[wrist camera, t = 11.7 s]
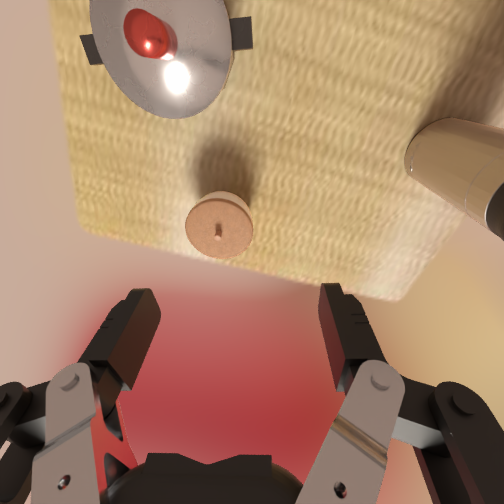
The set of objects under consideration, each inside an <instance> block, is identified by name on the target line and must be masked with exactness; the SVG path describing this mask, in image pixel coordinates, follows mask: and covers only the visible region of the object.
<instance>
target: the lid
mask: <svg viewBox="0 0 504 504" xmlns="http://www.w3.org/2000/svg"><path fill="white" fill-rule="evenodd" d="M90 20H91V26H92V32H93V36H94V40H95V43H96V47H97V49H98V52H99V54H100V57H101V59H102V61H103V63H104V65H105V67H106V69H107V71H108V73H109V74H110V76H111V78H112V79H113V80H114V82H115V83H116V84H117V86H118V87H119V88H120V89H121V90H122V92H123V93H124V94H125V95H126V96H127V97H128V98H129V99H130V100H131V101H133V102H134V103H135V104H137V105H138V106H139V107H141V108H142V109H144V110H146V111H147V112H150V113H152V114H154V115H157V116H160V117H163V118H169V119H181V118H187V117H191V116H194V115H196V114H198V113H200V112H201V111H203V110H204V109H206V108H207V107H208V106H209V105H210V104H212V103H213V102H214V100H215V99H216V98H217V97H218V95H219V94H220V92H221V90H222V88H223V86H224V84H225V82H226V79H227V76H228V73H229V69H230V64H231V56H232V35H231V27H230V22H229V17H228V13H227V10H226V7H225V4H224V1H223V0H90Z"/></svg>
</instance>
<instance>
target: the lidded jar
mask: <svg viewBox="0 0 504 504" xmlns="http://www.w3.org/2000/svg"><path fill="white" fill-rule="evenodd" d="M185 229H186V234H187V237H188V239H189V241H190V242H191V244H192V245H193V246H194V247H195V248H196V249H197V250H198V251H200V252H201V253H203V254H205V255H207V256H210V257H213V258H219V259H226V258H232V257H235V256H237V255H239V254H241V253H242V252H244V251H245V250H246V249H247V248H248V246H249V245H250V243H251V241H252V237H253V222H252V216H251V212H250V210H249V208H248V206H247V205H246V203H245V202H244V201H243V200H242V199H241V198H240V197H238V196H237V195H235V194H233V193H230V192H226V191H216V192H212V193H209V194H207V195H205V196H204V197H202V198H201V199H200V200H199V201H198V202H197V203H196V204H195V206H194V207H193V208H192V210H191V211H190V212H189V214H188V216H187V219H186V223H185Z"/></svg>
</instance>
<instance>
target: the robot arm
mask: <svg viewBox="0 0 504 504" xmlns="http://www.w3.org/2000/svg"><path fill="white" fill-rule="evenodd" d="M405 168H406V171H407V173H408V174H409V175H410V176H411V177H412V178H413V179H415V180H416V181H418V182H419V183H421V184H422V185H424V186H425V187H426V188H428V189H429V190H431V191H432V192H434V193H435V194H437V195H438V196H440V197H441V198H443V199H444V200H446V201H447V202H448V203H450V204H451V205H453V206H454V207H456V208H457V209H459V210H460V211H462V212H463V213H465V214H466V215H468V216H469V217H471V218H472V219H474V220H475V221H477V222H478V223H480V224H481V225H483V226H484V227H485V228H487V229H488V230H490V231H492V232H493V233H494V234H496V235H497V236H499V237H500V238H501V239H502V240H503V241H504V129H503V128H498V127H494V126H489V125H485V124H480V123H476V122H472V121H467V120H463V119H458V118H445V119H441V120H438V121H436V122H433V123H431V124H430V125H428V126H427V127H425V128H424V129H423V130H422V131H420V132H419V133H418V134H417V135H416V137H415V138H414V139H413V140H412V142H411V144H410V145H409V147H408V149H407V152H406V155H405ZM318 313H319V320H320V324H321V328H322V332H323V337H324V340H325V345H326V349H327V354H328V358H329V362H330V366H331V371H332V375H333V379H334V384H335V388H336V391H338V392H339V391H340V392H341V391H344V392H345V395H346V398H345V400H344V402H343V405H342V406H341V409H340V411H339V413H338V415H337V417H336V419H335V420H334V422H333V424H332V426H331V428H330V430H329V432H328V434H327V436H326V439H325V440H324V443H323V445H322V447H321V449H320V451H319V454H318V455H317V458H316V460H315V462H314V464H313V466H312V468H311V470H310V473H309V475H308V477H307V479H306V481H305V483H304V485H303V484H302V483H301V482H300V481H299V480H298V479H297V478H296V477H295V476H294V475H293V474H292V473H290V472H289V471H288V470H286V469H284V468H283V467H281V466H279V465H277V464H274V463H272V457H271V455H237V456H234V457H231V458H228V459H225V460H222V461H219V462H216V463H212V464H207V465H206V464H203V463H200V462H198V461H195V460H193V459H190V458H188V457H185V456H183V455H180V454H177V453H148V455H147V458H146V462H145V463H143V464H141V465H138V463H137V460H136V458H135V455H134V453H133V451H132V450H131V448H130V445H129V442H128V438H127V434H126V430H125V425H124V421H123V417H122V413H121V408H120V404H119V400H118V399H117V398H118V395H119V393H120V391H127V390H128V391H131V390H132V387H133V385H134V383H135V380H136V378H137V375H138V373H139V371H140V368H141V366H142V363H143V361H144V359H145V356H146V354H147V351H148V349H149V347H150V344H151V342H152V339H153V337H154V334H155V332H156V330H157V327H158V325H159V322H160V318H161V311H160V308H159V306H158V303H157V301H156V299H155V297H154V295H153V292H152V290H151V289H149V288H144V289H132V290H131V291H130V292H129V294H128V296H127V297H126V299H125V300H121V301H120V302H119V303H118V304H117V305H116V306H114V307H113V308H112V309H111V311H110V312H109V314H108V315H107V317H106V320H105V321H104V322H103V323H102V325H101V326H100V329H99V330H98V331H97V333H96V334H95V336H94V337H93V339H92V340H91V342H90V344H89V345H88V347H87V348H86V350H85V351H84V353H83V354H82V356H81V358H80V359H79V361H78V362H77V363H74V364H71V365H69V366H67V367H65V368H64V369H62V370H61V371H60V372H58V373H57V374H56V375H55V376H54V377H53V379H52V380H51V381H48V382H44V383H41V384H38V385H35V386H32V387H28V388H26V387H25V386H23V385H22V384H21V383H19V382H10V383H6V384H4V385H2V386H0V449H1V447H2V445H3V444H4V443H5V441H6V440H7V441H9V442H11V444H10V446H9V447H8V449H7V450H6V452H5V453H4V455H3V457H2V458H1V460H0V504H24V503H25V501H26V499H27V497H28V495H29V493H30V491H31V504H376V501H377V498H378V494H379V491H380V487H381V484H382V480H383V477H384V473H385V470H386V465H387V451H388V447H389V443H390V440H391V438H394V439H397V440H400V441H402V442H405V443H407V444H410V445H412V446H413V448H414V451H415V454H416V457H417V460H418V463H419V465H420V468H421V471H422V474H423V477H424V480H425V482H426V485H427V488H428V490H429V494H430V496H431V499H432V502H433V504H504V431H503V430H502V428H501V426H500V425H499V423H498V422H497V420H496V418H495V417H494V415H493V414H492V412H491V411H490V409H489V407H488V406H487V404H486V403H485V402H484V401H483V399H482V398H481V397H480V396H479V395H478V394H476V393H475V392H473V391H472V390H471V389H469V388H468V387H466V386H464V385H461V384H459V383H456V382H450V381H449V382H442V383H440V384H439V385H438V386H437V387H434V386H430V385H427V384H424V383H420V382H417V381H414V380H411V379H408V378H406V377H404V376H402V375H400V374H399V373H398V372H397V371H396V370H395V369H394V368H393V367H392V366H390V365H389V364H388V363H387V361H386V359H385V357H384V356H383V353H382V351H381V348H380V346H379V344H378V341H377V339H376V337H375V335H374V332H373V330H372V328H371V325H370V324H369V321H368V318H367V316H366V315H365V312H364V309H363V307H362V305H361V303H360V302H359V301H358V300H357V299H356V298H355V297H354V296H353V295H352V294H345V295H344V293H343V291H342V288H341V286H340V284H339V283H322V284H321V289H320V298H319V305H318Z"/></svg>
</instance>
